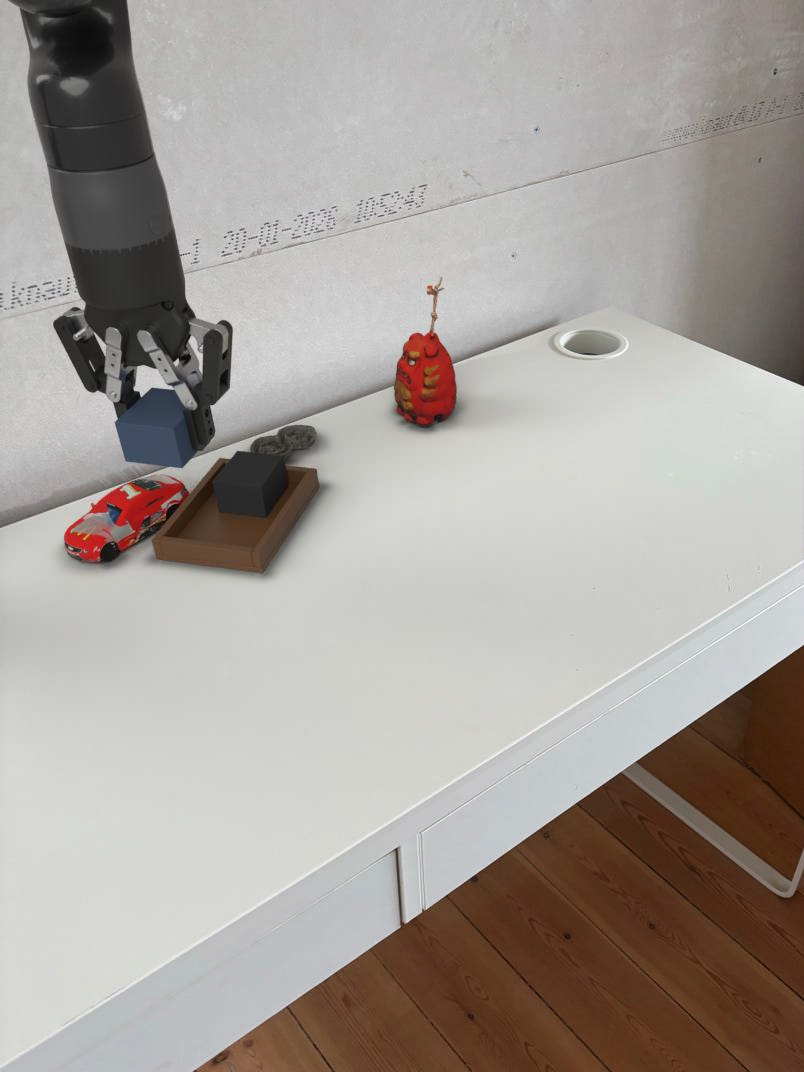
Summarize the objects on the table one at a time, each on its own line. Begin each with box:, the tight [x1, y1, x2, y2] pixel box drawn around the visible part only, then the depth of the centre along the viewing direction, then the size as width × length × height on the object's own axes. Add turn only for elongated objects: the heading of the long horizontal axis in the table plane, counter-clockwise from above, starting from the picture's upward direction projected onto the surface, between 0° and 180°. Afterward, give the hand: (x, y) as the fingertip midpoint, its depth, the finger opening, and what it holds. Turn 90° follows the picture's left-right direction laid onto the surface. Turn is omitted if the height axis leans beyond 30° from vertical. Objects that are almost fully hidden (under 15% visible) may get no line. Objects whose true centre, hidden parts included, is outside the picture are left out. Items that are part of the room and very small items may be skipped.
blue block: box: [114, 387, 216, 469], centre depth 81 cm, size 5×6×4 cm
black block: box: [212, 450, 289, 518], centre depth 100 cm, size 5×6×4 cm
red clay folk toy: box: [393, 276, 458, 428], centre depth 110 cm, size 8×7×15 cm
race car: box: [63, 473, 190, 563], centre depth 96 cm, size 13×5×4 cm, turn 143°
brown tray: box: [151, 457, 320, 574], centre depth 98 cm, size 11×15×2 cm
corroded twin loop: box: [249, 424, 317, 460], centre depth 109 cm, size 5×8×1 cm, turn 136°
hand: (170, 441), depth 82 cm, fingers closed on blue block, 5 cm apart
